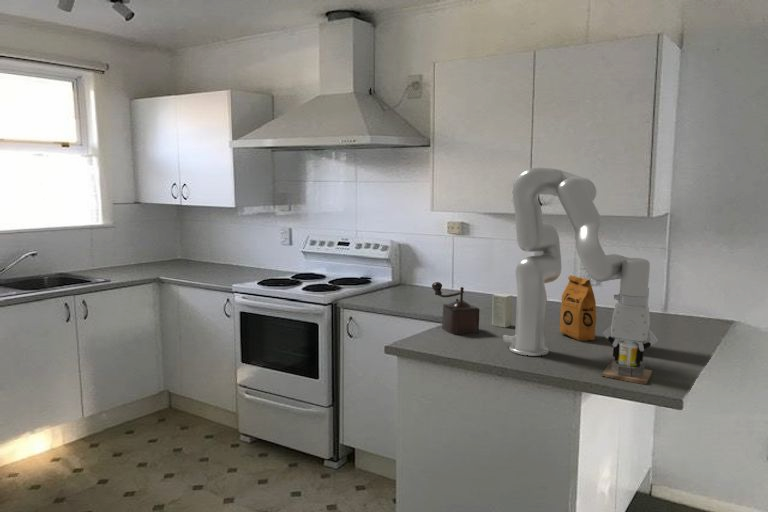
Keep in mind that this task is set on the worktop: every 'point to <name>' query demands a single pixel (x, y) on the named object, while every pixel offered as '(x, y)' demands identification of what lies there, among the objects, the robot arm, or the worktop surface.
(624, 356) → the supplement bottle
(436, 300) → the worktop surface
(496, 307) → the skincare box
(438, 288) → the manual coffee grinder
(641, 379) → the socket board
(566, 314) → the coffee package
